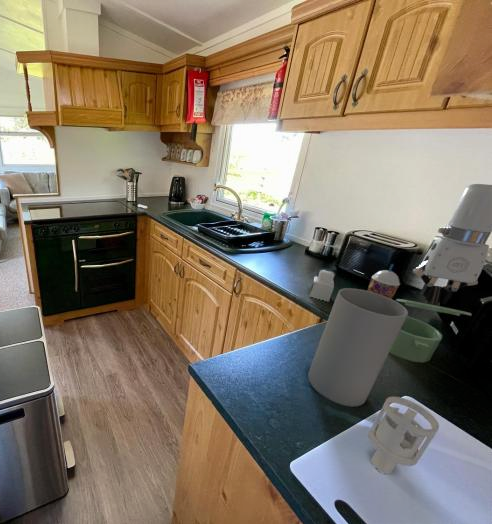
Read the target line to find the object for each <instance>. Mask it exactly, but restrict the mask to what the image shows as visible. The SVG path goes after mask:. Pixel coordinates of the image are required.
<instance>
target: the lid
mask: <svg viewBox="0 0 492 524" xmlns="http://www.w3.org/2000/svg"><path fill="white" fill-rule="evenodd" d="M433 287H434V288H435V289H434V291H433V293H432V295H431V297H430V299H429V300H428V301H427V300H424V303H423V302H419V301H413V300H407V299H403V298H402V299H400V298H396V299H395V301H396V302H398V303H402V304H404V305H403V306H407V307H412V308H416V309H421V310H424V311H425V310H426V311H429V312H430V311H431V312H436V313H440V314H445V315H451V316H457V317H460V316H461V315H462V316H467V317H472V313H471V312H467V311H464V310H459V309H454V308H450V307H445V306H440V305H441V302H440V300H441V296H442V292H443V288H444V287H443V286H439V285H434V286H433Z"/></svg>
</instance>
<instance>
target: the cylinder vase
mask: <svg viewBox="0 0 492 524" xmlns="http://www.w3.org/2000/svg"><path fill="white" fill-rule="evenodd" d="M408 315H409V311H408V310H407V308H406V307H405V305H403V304H401V303H400V302H398V301H396V300H394V299H393V298H392V299H390V298H387V297H385V296H382V295H380V294H377V293H373V292H370V291H367V290H365V289H361V288H360V289H359V288H351V287H349V288H347V287H346V288H341V289H339V290H338V292H337V295H336V297H335V299H334V303H333V305H332V308H331V311H330V314H329V317H328V319H327V321H326V325H325V327H324V330H323V332H322V335H321V337H320V341H319V343H318V346H317V348H316V352H315V354H314V357H313V359H312V361H311V365H310V367H309V370H308V374H307V378H308V381H309V383H310V385H311V387H312V388H313V389H314V390H315V391H316V392H317V393H318V394H320V395H321V396H322V397H325V398H326V399H328V400H329V401H331V402H332V403H333V402H334V403H336V404H338V405H342V406H345V407H353V408H354V407H355V408H356V407H360V406H362V405H364V404H365V403H366V401H367V399H368V396H369V395H370V393H371V391H372V388H373V387H374V384H375V383H376V381H377V378H378V376H379V374H380V372H381V370H382V368H383V366H384V365H385V362H386V360H387V358H388V355H389V354H390V349H391V347H392V345H393V343H394V341H395V339H396V337H397V335H398V333H399V331H400V329H401V327H402V325H403V323H404V321H405V319H406V317H407V316H408Z"/></svg>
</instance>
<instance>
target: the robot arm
mask: <svg viewBox="0 0 492 524" xmlns="http://www.w3.org/2000/svg"><path fill="white" fill-rule="evenodd" d="M437 232H438V233H439V234H441V235H442V236H438V237H437V238H436V240H435V241H433V244H432V245H430V248H429V249H428V251H427V252H426V254H425V256H424V257H423V259H422V262H421V263H420V264H419V265H418V266H417V267H416V268H414V269H412V273H414V275H416V276H417V277H418V278H420V279H421V281H422V282H423V286H422V288H421V290H420V292H419V293H420V297H421V299H423V300H424V301H425V300H427V301H428V300H429V299H430V297H431V295H432V293H433V291H434V289H435V288H434V287H433V286H435V284H436V282H437V281H438V279H444V280H447V282H446V285H443V286H442V287H444V288H443V292H442V296H441V300H440V304H442V305H446V303H447V302H448V301H450V299H451V298H452V295H453V293H454V292H457V291H458V290H460V289H463V288H465V287H470V286H475V285H478V284H479V279H478V278H479V277H480V275H481V273H482V270H483V268H484V266H485V264H486V260H487V257H488V255H489V250H490V245H489V244H486V243H487V241H488V239H489V238H490V235H491V234H492V184H485V183H473V184H469V185H468V186H466V187H465V189H464V191H463V192H462V195H461V197H460V199H459V201H458V203H457V205H456V207H455V209H454V211H453V213H452V215H451V217H450V220H449V222H448V224H447V225H446V226H445V227H439V228H438V230H437ZM424 272H425V273H424Z"/></svg>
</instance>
